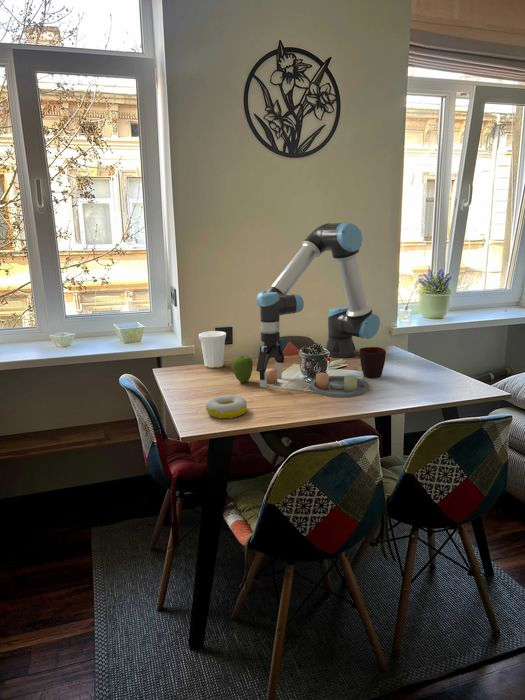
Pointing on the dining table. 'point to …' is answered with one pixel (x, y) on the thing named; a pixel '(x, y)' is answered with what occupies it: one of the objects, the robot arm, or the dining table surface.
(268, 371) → the terracotta bead
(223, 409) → the donut
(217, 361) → the cup
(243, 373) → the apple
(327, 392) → the groove tray
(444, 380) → the dining table surface
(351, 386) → the olive bead
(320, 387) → the terracotta bead
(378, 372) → the mug
